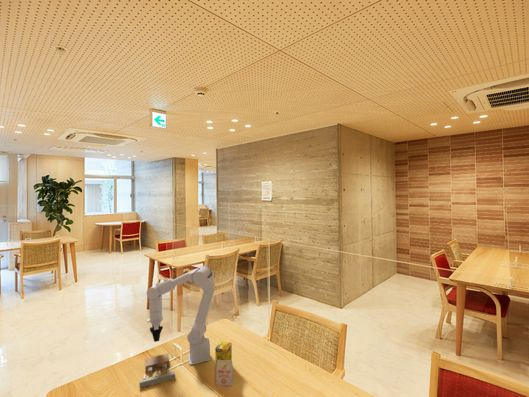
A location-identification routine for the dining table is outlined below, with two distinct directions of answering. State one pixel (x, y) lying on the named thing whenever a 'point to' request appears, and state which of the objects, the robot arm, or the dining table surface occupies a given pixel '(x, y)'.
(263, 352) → the dining table surface
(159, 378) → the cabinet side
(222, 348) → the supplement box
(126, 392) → the dining table surface
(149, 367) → the brown flat block
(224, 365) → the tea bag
